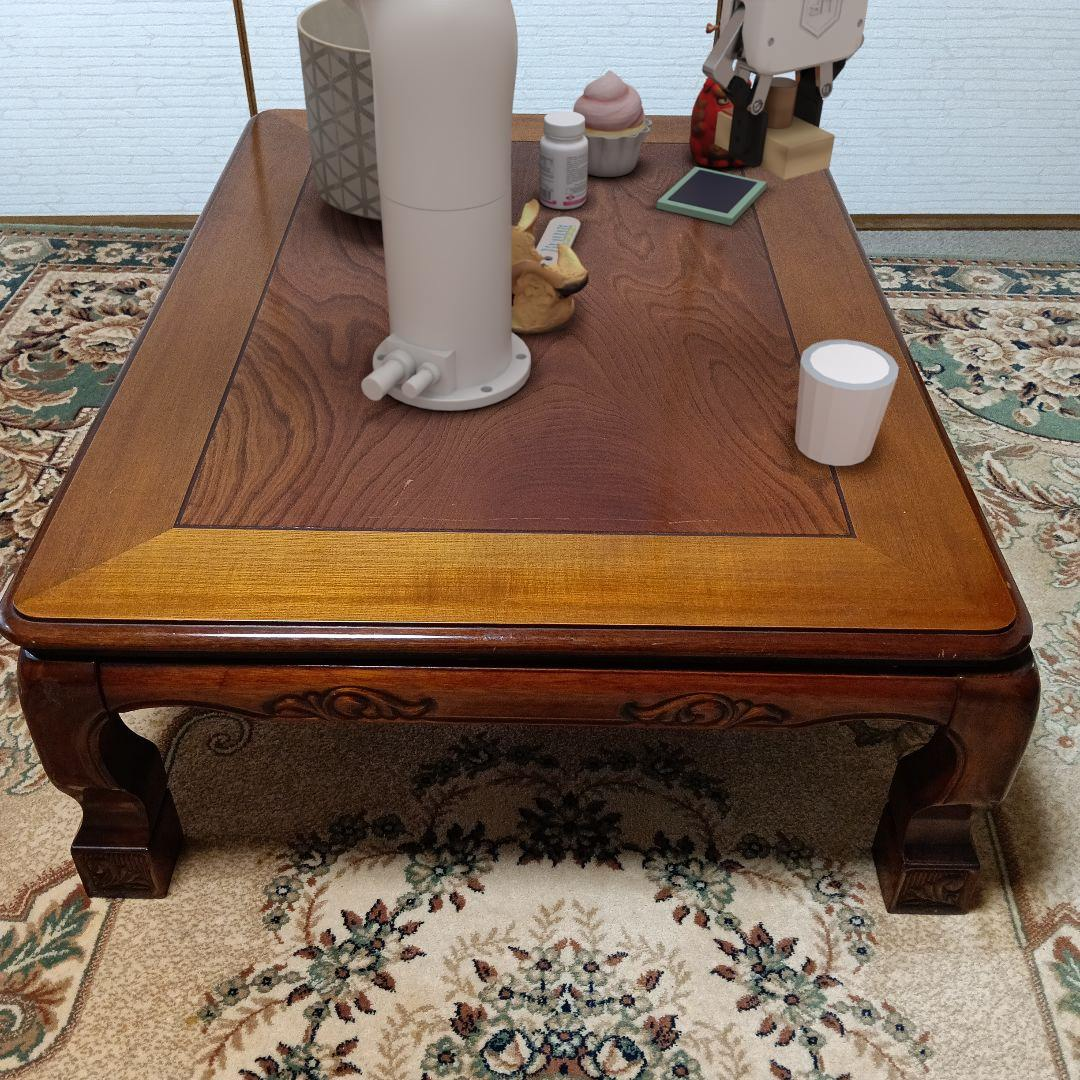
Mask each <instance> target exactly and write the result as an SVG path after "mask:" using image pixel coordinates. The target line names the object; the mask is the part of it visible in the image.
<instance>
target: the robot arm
mask: <svg viewBox="0 0 1080 1080" xmlns="http://www.w3.org/2000/svg"><path fill="white" fill-rule="evenodd" d="M342 1H343V2H344V3H345V4H346V5H348V6H349V7H350V8H351V9H352V10H353V11H355V12H356V13H357V14H358V15H359V16H360V17H361V18H362V19H363V22H364V25H365V28H366V31H367V35H368V41H369V48H370V55H371V64H372V76H373V95H374V120H375V140H376V158H377V170H378V184H379V190H380V203H381V216H382V222H381V227H382V242H383V243H382V244H383V256H384V257H383V258H384V269H385V281H386V282H385V283H386V294H387V295H386V297H387V310H388V321H389V323H388V324H389V335H388V336H387V337H385V339H383V340H382V341H381V342H380V344H379V345H378V346H377V347H376V349H375V351H374V353H373V355H372V370H373V371H372V372H371V373H369V374H368V375H367V376H365V377H364V378H362V381H361V383H360V387H361V390H362V392H363V394H364V395H365V396H366V397H367V398H368V399H369V400H371V401H374V402H378V401H380V400H381V399H382V398H384V397H385V396H386V395H389V396H390V397H392V398H393V399H395V400H397V401H400V402H401V403H404V404H406V405H409V406H413V407H416V408H420V409H426V410H432V411H443V412H446V411H447V412H455V411H467V410H468V411H469V410H474V409H480V408H483V407H487V406H491V405H494V404H497V403H499V402H501V401H503V400H506V399H508V398H509V397H511V396H512V395H514V394H516V393H517V392H518V391H519V390H520V389H521V388H523V387H524V385H525V384H526V382H527V381H528V380H529V377H530V375H531V370H532V356H531V352H530V349H529V347H528V346H527V344H526V343H525V342H524V339H522V338H520V337H519V336H518V335H517V334H515V332H512V306H513V305H512V301H513V300H512V295H513V292H512V290H511V226H512V128H513V127H512V125H513V122H512V121H513V111H514V110H513V108H514V98H515V87H516V79H517V72H518V71H517V70H518V57H519V35H518V26H517V21H516V15H515V9H514V7H513V3H512V0H342ZM868 4H869V0H722V7H721V15H720V20H721V22H720V25H719V26H720V30H719V37H718V39H717V40H716V42H715V44H714V46H713V48H712V49H711V51H710V52H709V54H708V56H707V58H706V59H705V61H704V63H703V64H702V68H701V71H702V72H701V73H702V74H703V75H705V77H706V78H709V79H711V80H712V81H713V82H714V83H716V84H717V85H718V86H719V87H720V89H721V90H722V91H723V93H724V94H725V95H726V96H727V101H728V102H729V103H731V104H733V105H734V106H733V115H732V123H731V131H730V140H729V148H728V152H729V155H730V156H731V157H733V158H735V159H737V160H739V161H741V162H743V163H745V164H747V165H746V166H749V167H751V168H752V169H753V168H759V167H758V166H760V165H761V163H762V160H763V153H764V146H765V138H766V134H767V126H768V119H769V117H768V113H766V112H764V111H762V110H763V108H764V104H765V101H766V98H767V95H768V91H769V88H770V85H771V82H772V79H773V77H774V76H778V75H783V74H789V73H792V72H794V80H795V81H796V82H797V83H798V88H797V94H796V101H795V107H794V114H793V116H795V117H797V118H799V119H801V120H803V121H806V122H808V123H810V124H812V125H814V126H816V127H818V128H820V125H821V119H822V113H823V108H824V107H823V106H824V101H825V100H824V99H827V98H828V97H830V96H831V94H832V92H833V89H834V81H835V80H836V79H837V78H838V76H839V75H840V73H841V72H842V71H843V70H844V68H845V66H846V64H847V62H848V61H849V60H850V59H851V58H852V57H853V56H854V55H855V54H856V52H858V51H859V49H860V48H862V46H863V45H864V42H865V35H864V31H865V25H866V19H867V11H868ZM735 60H736V63H735ZM734 63H735V66H734V68H733V64H734ZM751 74H754V75H755V77H754V80H753V83H752V86H751V87H750V86H749V85H748V81H749V79H750V78H751Z"/></svg>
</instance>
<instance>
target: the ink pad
mask: <svg viewBox="0 0 1080 1080" xmlns="http://www.w3.org/2000/svg"><path fill="white" fill-rule="evenodd" d="M767 184H768V183H767V181H763V180H760V179H756V178H755V179H754V178H751V177H745V176H742V175H736V174H731V173H727V172H722V171H718V170H713V169H709V168H704V167H699V166H694V167H693V168H692V169H691V170H690V171H689V172H687V174H685V175H684V176H683V177H682V178H681V179H680V180H678V181H677V182H676V183H675V185H673V186H672V187H671V188H670V189H669V190H668V191H667V192H665V193H664V194H663V195H662V196H661V197H660V198H659V199H657V201H656V209H658V210H662V211H666V212H671V213H673V214H674V213H675V214H678V215H682V216H687V217H692V218H695V219H700V220H705V221H709V222H712V223H717V224H722V225H726V226H731V227H732V226H733V224H734V223H736V221H738V219H739V218H740V217H741V216H742V215H743V214H744V213H745V212H746V211H747V210H748V209H749V208H750V207H751V206H752V204H754V202H756V200H757V199H758V198H759V197H760V196H761V195H763V193H764V192H765V191H766V190H767Z"/></svg>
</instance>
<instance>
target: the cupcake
mask: <svg viewBox="0 0 1080 1080" xmlns="http://www.w3.org/2000/svg"><path fill="white" fill-rule="evenodd" d="M572 112H576V113H579V114H581V115H583V116H584V118H585V133H584V136H585V137H586V138H587V140H588V168H587V175H590V176H593V177H594V176H595V177H601V178H616V177H621V176H625V175H628V174H629V173H632V172H633V171H634V169H635V168H636V166H637V164H638V160H639V158H640V154H641V149H642V145H643V143H644V142H645V140H646V138H647V137H648V135H649V134H650V133H651V128H650V127H651V126H652V124H653V122H652V120H650V119H648V118H646V114H645V110H644V107H643V102H642V98H641V96H640V94H639V92H638V91H637V89H636V88H635V87H634V86H633V85H630V84H628V83H626V82H624V81H623V79H622V78H620V76H618V75H617V74H616V73H615V72H614V71H612V70H610V69H608V71H606V73H604V74H603V75H602V76H600V77H599V78H596V79H595V80H593V81H591V82H589V83H588V84H587V85H586V86H585V88H584V90H583V93H582V95H581V96H579V97H578V98H577V99H576V101H575V103H574V105H573V110H572Z"/></svg>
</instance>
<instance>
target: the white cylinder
mask: <svg viewBox="0 0 1080 1080" xmlns="http://www.w3.org/2000/svg"><path fill="white" fill-rule="evenodd" d="M799 362H800V364H799V377H798V391H797V405H796V417H795V418H796V421H795V433H794V442H795V445H796V447H797V449H798V451H800V452H801V454H803V455H804V456H806V458H807V459H808V458H809V459H810V460H813V461H815V462H818V463H820V464H823V465H829V466H833V467H845V466H854V465H856V464H860V463H862V462H864V461H865V460H867V458H868V457H870V456H871V453H872V451H873V447H874V445H875V442H876V439H877V437H878V433H879V431H880V428H881V426H882V422H883V419H884V417H885V414H886V411H887V408H888V405H889V402H890V399H891V397H892V394H893V391H894V388H895V385H896V383H897V380H898V375H899V369H900V367H899V365H898V363H897V362H896V360H895V358H894V357H893V356H892V355H890V354H888V352H886V351H885V350H883V349H881V348H880V347H877V346H875V345H873V344H869V343H866V342H863V341H857V340H851V339H826V340H823V341H819V342H815V343H812V344H811V345H809V347H807V348H805V350H803V352H802V354H801V358H800V361H799Z"/></svg>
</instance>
